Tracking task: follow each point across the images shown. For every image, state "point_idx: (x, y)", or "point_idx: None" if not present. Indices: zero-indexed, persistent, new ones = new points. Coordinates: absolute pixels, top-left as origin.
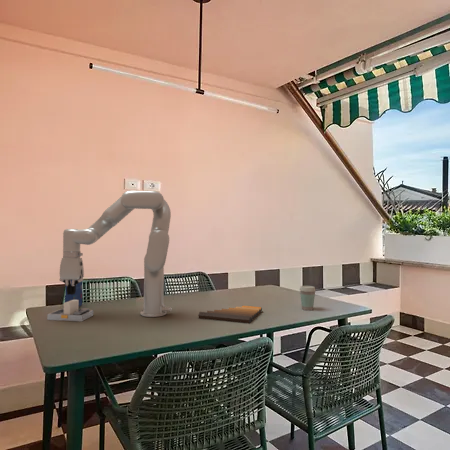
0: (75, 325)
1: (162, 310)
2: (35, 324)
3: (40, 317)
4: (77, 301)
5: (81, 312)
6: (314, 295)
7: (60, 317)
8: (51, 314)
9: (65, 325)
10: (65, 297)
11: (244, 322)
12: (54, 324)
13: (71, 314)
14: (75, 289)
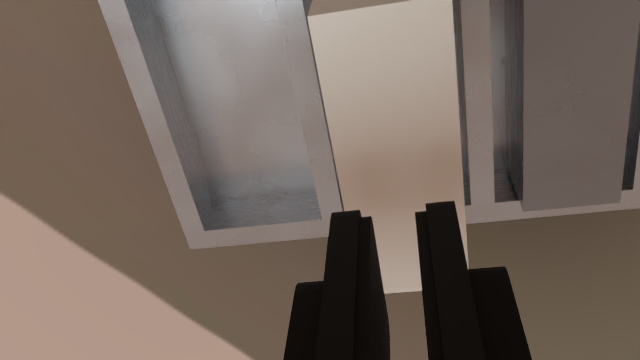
0: (628, 299)
1: None
2: (243, 344)
3: (48, 150)
4: (452, 35)
5: (621, 158)
6: None
7: None
8: (240, 243)
9: (528, 317)
10: None
11: None
12: (403, 314)
13: (483, 195)
14: (517, 317)
